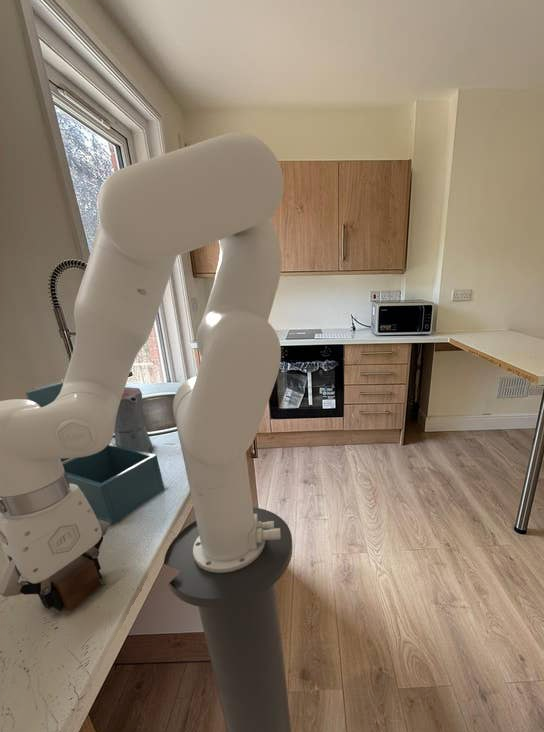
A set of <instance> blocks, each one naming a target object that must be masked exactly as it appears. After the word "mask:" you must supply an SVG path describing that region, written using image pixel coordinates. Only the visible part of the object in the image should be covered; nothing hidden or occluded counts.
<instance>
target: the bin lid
mask: <svg viewBox="0 0 544 732" xmlns="http://www.w3.org/2000/svg"><path fill="white" fill-rule="evenodd" d="M64 380H65V378H64V379H60V380H57V381H52V382H49V383H46V384H41V385H37V386H35V387H33V388H32V389H30V390H26V391H25V395H26V400H31V401H34V402H36V403H37V404H38V405H39V406H40V407H44V406H46V405H48V404H50V403H52V402H54V400H55V399H56V398H57V396H58V395H59V393H60V391H61V388H62V386H63V383H64ZM68 460H71V458H61V462H62V463H64V462H66V461H68Z"/></svg>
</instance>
